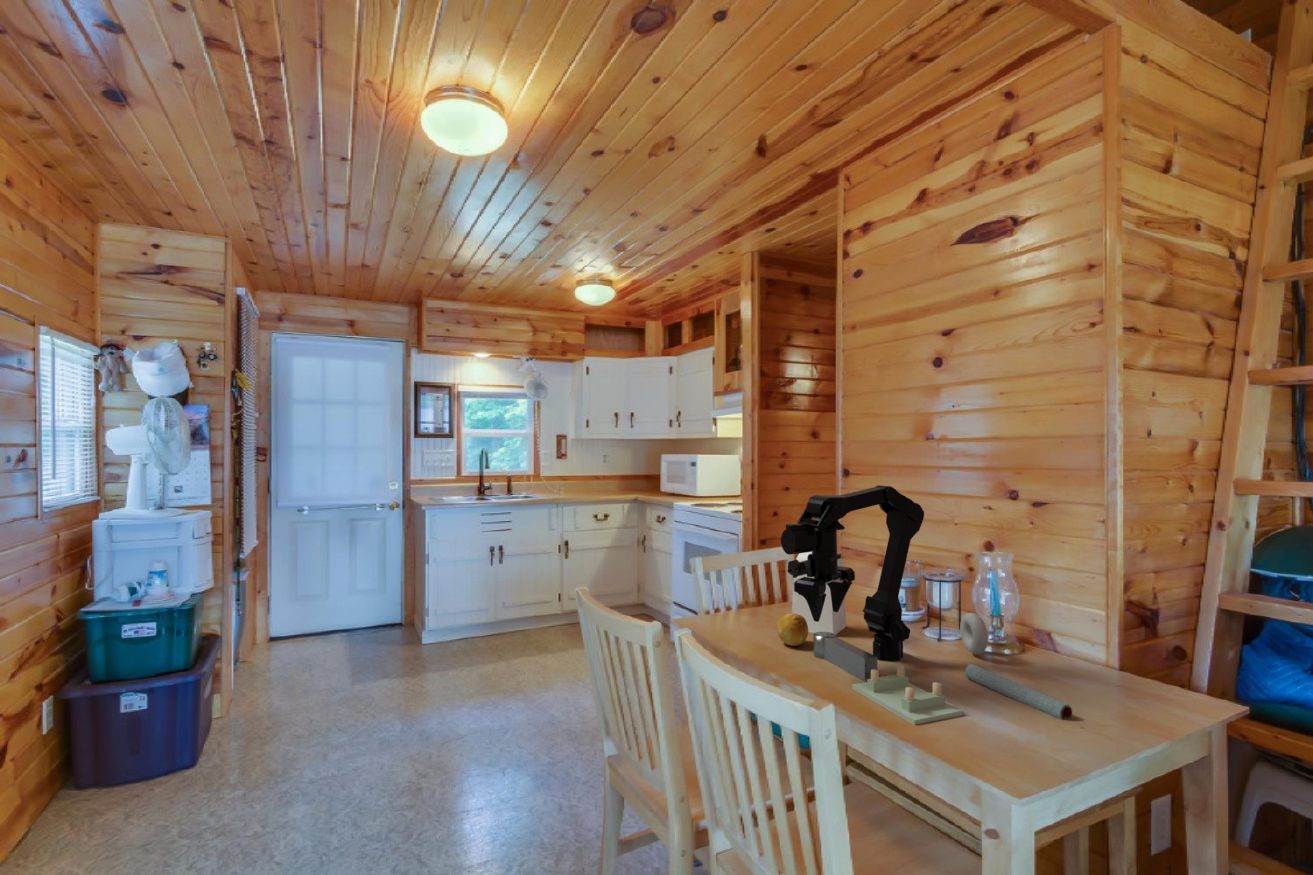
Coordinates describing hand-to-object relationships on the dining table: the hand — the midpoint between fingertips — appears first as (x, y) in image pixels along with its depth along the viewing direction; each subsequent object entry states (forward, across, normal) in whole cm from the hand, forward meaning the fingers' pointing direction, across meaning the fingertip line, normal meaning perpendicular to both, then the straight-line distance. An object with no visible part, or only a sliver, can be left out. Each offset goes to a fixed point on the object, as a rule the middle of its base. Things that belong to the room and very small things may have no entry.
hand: (826, 616), depth 145 cm
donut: (+14, -34, +22) cm, 43 cm away
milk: (+13, -27, -17) cm, 34 cm away
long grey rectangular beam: (+12, -3, +4) cm, 13 cm away
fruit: (+12, -9, -14) cm, 21 cm away
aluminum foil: (+14, -13, +37) cm, 41 cm away
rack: (+12, +6, +20) cm, 25 cm away
